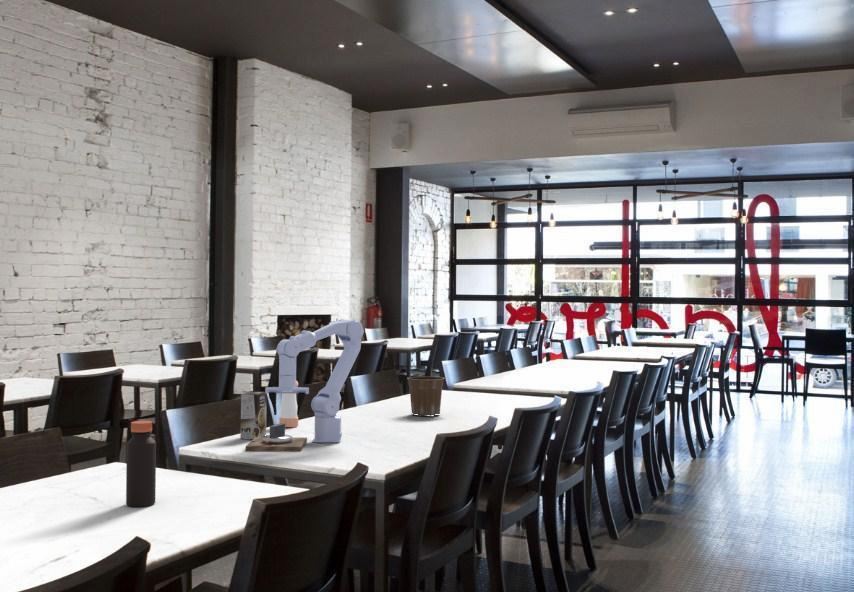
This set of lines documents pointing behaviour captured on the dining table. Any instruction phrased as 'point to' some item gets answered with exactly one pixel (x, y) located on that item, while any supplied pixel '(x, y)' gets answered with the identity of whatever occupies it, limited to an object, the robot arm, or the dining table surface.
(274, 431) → the dial
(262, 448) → the dial plate
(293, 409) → the pepper shaker
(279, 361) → the robot arm
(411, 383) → the plant pot
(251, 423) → the coffee box
